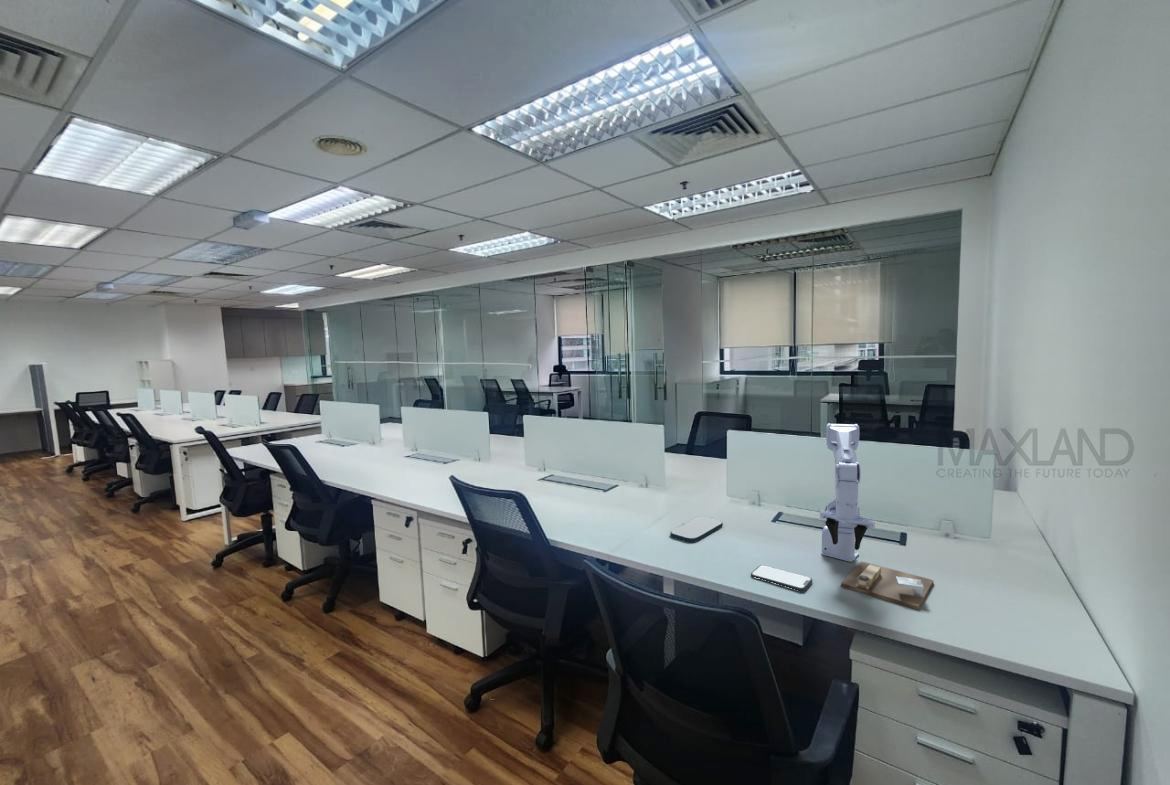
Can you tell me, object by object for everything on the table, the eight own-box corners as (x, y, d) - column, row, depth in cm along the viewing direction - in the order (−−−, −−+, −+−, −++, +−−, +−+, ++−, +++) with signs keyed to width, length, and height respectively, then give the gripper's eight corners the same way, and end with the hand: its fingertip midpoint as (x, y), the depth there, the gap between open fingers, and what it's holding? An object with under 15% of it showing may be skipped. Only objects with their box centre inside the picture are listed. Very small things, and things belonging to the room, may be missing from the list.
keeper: (897, 595, 134) (898, 583, 133) (895, 588, 138) (895, 576, 137) (923, 599, 131) (923, 587, 131) (920, 591, 135) (920, 579, 135)
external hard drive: (693, 545, 175) (693, 539, 175) (666, 537, 183) (666, 532, 183) (725, 526, 192) (725, 521, 191) (700, 519, 200) (700, 515, 199)
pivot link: (869, 590, 136) (869, 581, 136) (854, 586, 139) (855, 577, 139) (881, 574, 145) (882, 565, 145) (868, 570, 148) (868, 562, 148)
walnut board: (840, 586, 142) (840, 582, 141) (861, 564, 155) (861, 561, 155) (918, 609, 128) (918, 606, 128) (933, 583, 141) (933, 580, 141)
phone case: (749, 579, 149) (803, 594, 138) (749, 574, 149) (803, 589, 138) (761, 568, 156) (813, 582, 145) (760, 563, 156) (813, 577, 145)
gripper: (816, 500, 148) (816, 543, 149) (870, 511, 137) (869, 557, 139) (825, 495, 153) (824, 536, 154) (877, 504, 142) (876, 549, 144)
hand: (846, 546), depth 147 cm, fingers open, 5 cm apart
